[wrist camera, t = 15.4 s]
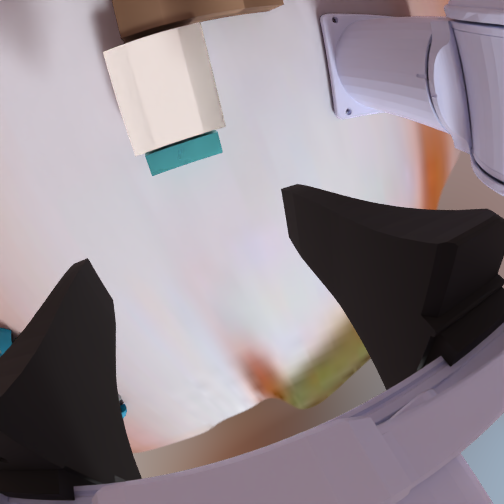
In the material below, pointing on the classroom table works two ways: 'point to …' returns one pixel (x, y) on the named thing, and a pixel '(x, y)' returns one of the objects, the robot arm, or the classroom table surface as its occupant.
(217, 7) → the socket block
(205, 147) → the key
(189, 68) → the block
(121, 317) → the classroom table surface
